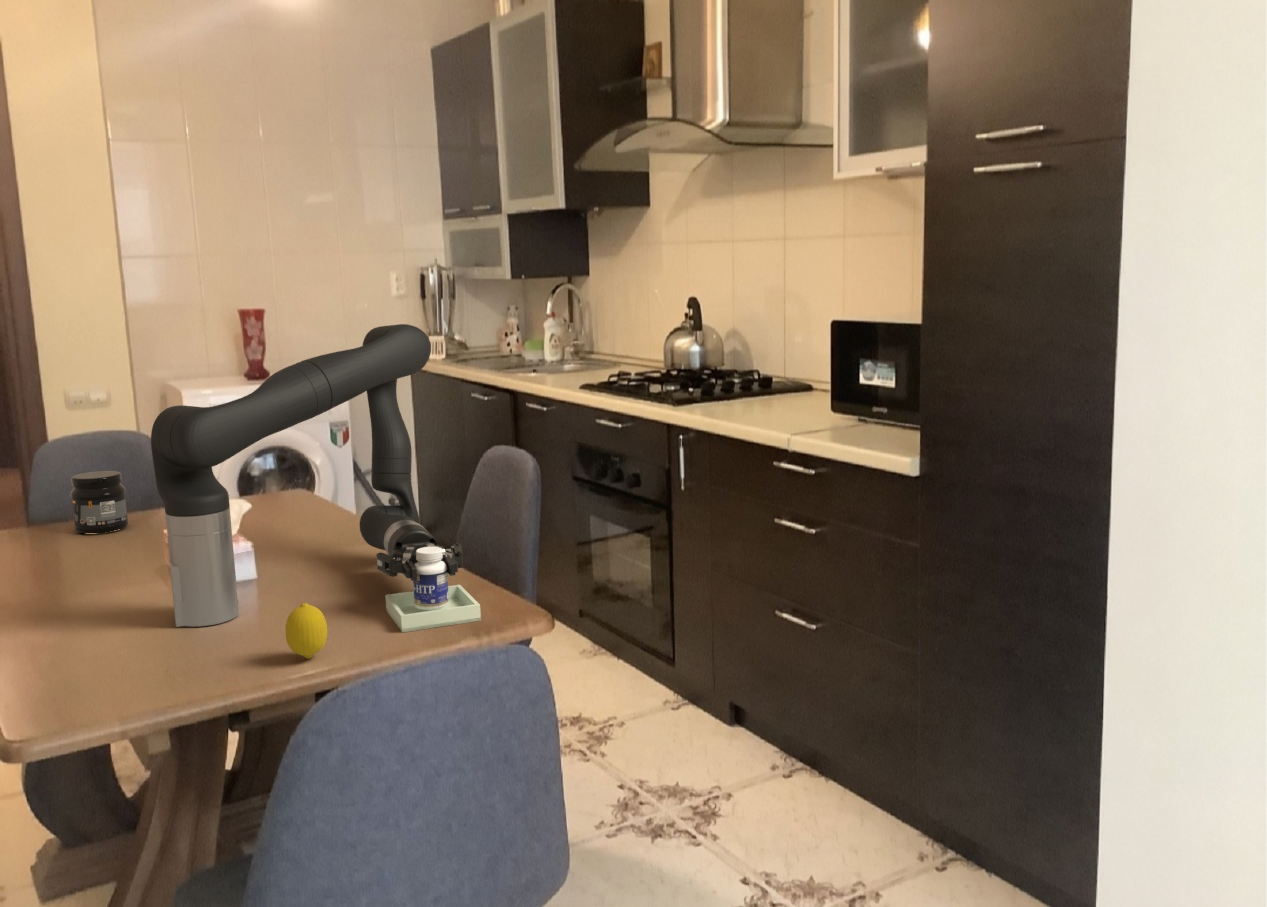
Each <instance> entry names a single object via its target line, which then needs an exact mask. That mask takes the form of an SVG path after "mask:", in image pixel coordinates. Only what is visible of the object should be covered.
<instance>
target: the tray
mask: <svg viewBox="0 0 1267 907" xmlns="http://www.w3.org/2000/svg"><path fill="white" fill-rule="evenodd" d="M448 595H449V603H448V605H447V606H445V607H443V608H439V609H434V610H423V609H419V608H417V607H416V606H415V604H414V590H412V591H411V590H410V591H404V592H403V591H402V592H398V593H390V594H389V593H388V594H385V595H384V596H385V610H386V612H387V613H388V614H389V616H390V617H391V619H392V620H393V622H394V621H395V622H394V623H395V624H397V625H396V626H397V627H398V629H399V630H400V632H401V633H409V632H415V631H421V630H429V629H435V628H441V627H446V626H452V625H453V626H455V625H461V624H468V623H473V622H474V623H475V622H481V621H482V614H481V604H480V603H479V602H478V601H477V600H476V599H475V598H474V597H473V596H472V595H471V594H470V593H469V592H468V591H467V590H466V589H465V588H464V587H463V586H462V585H461V584H455V585H448Z"/></svg>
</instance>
